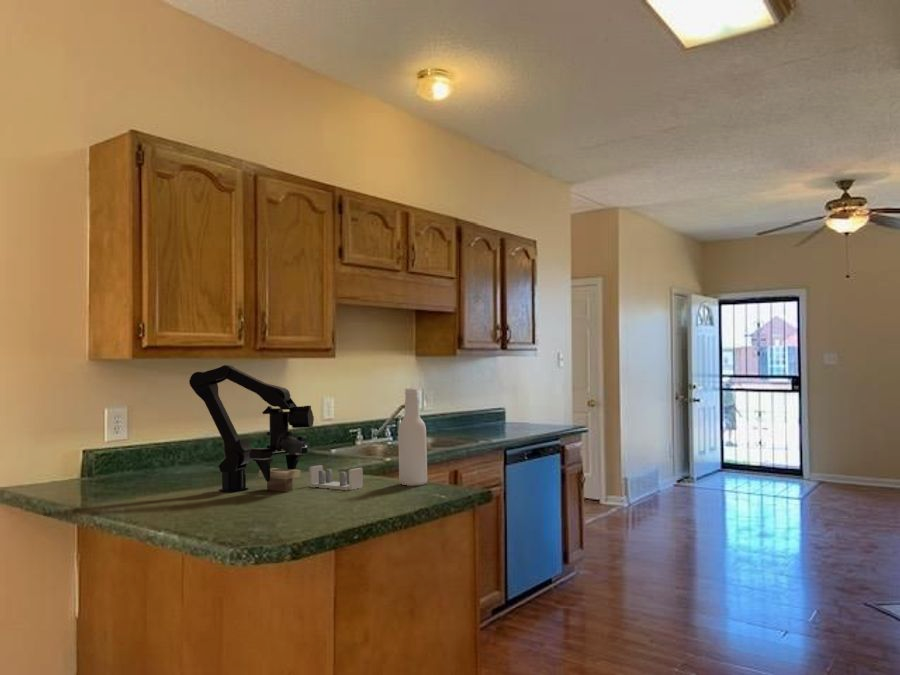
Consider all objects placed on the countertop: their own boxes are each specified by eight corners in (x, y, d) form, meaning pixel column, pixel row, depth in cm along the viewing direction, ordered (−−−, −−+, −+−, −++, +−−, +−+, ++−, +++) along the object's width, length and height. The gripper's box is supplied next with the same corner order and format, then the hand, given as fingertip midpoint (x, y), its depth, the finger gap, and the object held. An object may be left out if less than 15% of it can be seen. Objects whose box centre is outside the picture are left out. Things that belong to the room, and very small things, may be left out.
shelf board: (285, 479, 207) (285, 472, 207) (258, 477, 213) (258, 470, 213) (300, 476, 212) (300, 470, 212) (273, 474, 218) (273, 468, 218)
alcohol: (395, 483, 219) (393, 388, 221) (420, 481, 223) (418, 388, 225) (406, 487, 211) (404, 388, 213) (432, 484, 215) (429, 388, 217)
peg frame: (349, 490, 207) (349, 470, 208) (307, 486, 217) (306, 467, 218) (365, 487, 213) (364, 467, 214) (322, 483, 223) (322, 464, 224)
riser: (285, 491, 209) (284, 478, 209) (267, 489, 213) (267, 476, 213) (292, 490, 211) (292, 476, 211) (274, 488, 216) (274, 475, 216)
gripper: (273, 431, 201) (274, 485, 200) (319, 426, 217) (320, 477, 216) (248, 430, 207) (248, 483, 206) (294, 426, 223) (295, 475, 222)
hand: (279, 479), depth 212 cm, fingers open, 9 cm apart
